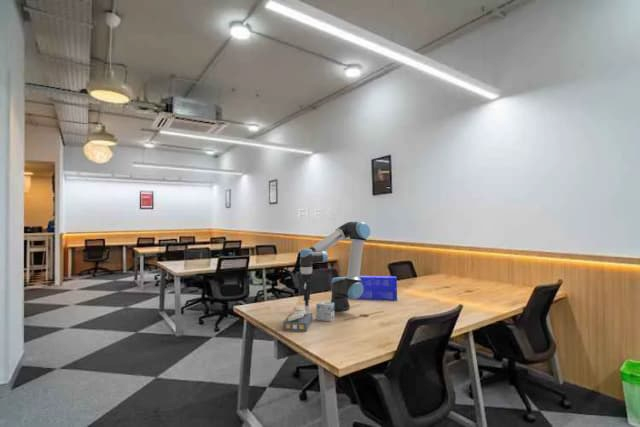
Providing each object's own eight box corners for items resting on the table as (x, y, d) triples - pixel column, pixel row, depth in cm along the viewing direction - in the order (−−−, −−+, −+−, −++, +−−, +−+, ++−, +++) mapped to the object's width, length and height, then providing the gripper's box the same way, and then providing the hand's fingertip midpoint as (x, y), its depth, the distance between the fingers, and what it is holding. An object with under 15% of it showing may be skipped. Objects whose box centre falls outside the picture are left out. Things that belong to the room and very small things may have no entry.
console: (312, 321, 212) (312, 311, 212) (306, 331, 192) (306, 321, 192) (291, 320, 214) (291, 311, 214) (283, 330, 194) (283, 320, 194)
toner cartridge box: (396, 298, 273) (396, 276, 274) (397, 300, 265) (396, 277, 265) (350, 296, 281) (350, 275, 281) (349, 298, 272) (349, 276, 273)
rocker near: (304, 315, 198) (303, 312, 198) (302, 317, 194) (301, 313, 194) (290, 319, 199) (289, 316, 199) (288, 321, 195) (287, 318, 195)
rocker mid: (306, 312, 204) (305, 309, 204) (304, 314, 200) (304, 311, 201) (292, 315, 206) (291, 312, 206) (290, 317, 202) (290, 314, 202)
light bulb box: (334, 318, 218) (334, 302, 218) (331, 321, 211) (331, 304, 211) (319, 317, 221) (319, 301, 221) (316, 320, 215) (316, 303, 215)
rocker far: (307, 313, 211) (308, 310, 211) (306, 314, 207) (306, 311, 207) (294, 309, 212) (294, 306, 212) (292, 311, 208) (293, 308, 208)
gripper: (302, 271, 216) (303, 307, 216) (298, 274, 203) (299, 313, 203) (313, 271, 215) (314, 307, 215) (310, 274, 202) (311, 313, 202)
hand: (307, 310), depth 209 cm, fingers closed
